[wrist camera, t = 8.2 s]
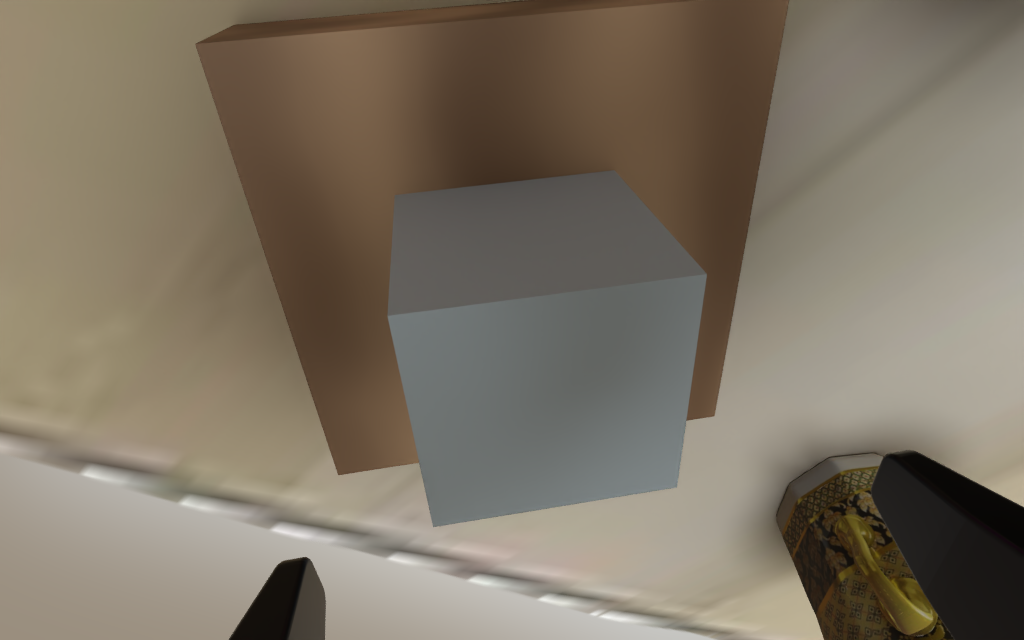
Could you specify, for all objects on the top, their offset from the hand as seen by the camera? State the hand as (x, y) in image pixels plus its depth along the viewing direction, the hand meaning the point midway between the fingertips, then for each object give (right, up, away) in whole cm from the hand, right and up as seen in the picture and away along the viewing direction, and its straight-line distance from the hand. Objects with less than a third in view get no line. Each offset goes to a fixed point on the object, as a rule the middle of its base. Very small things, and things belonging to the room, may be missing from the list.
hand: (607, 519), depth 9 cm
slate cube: (-1, +4, +8) cm, 10 cm away
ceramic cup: (+15, -6, +22) cm, 28 cm away
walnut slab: (-2, +7, +12) cm, 14 cm away
